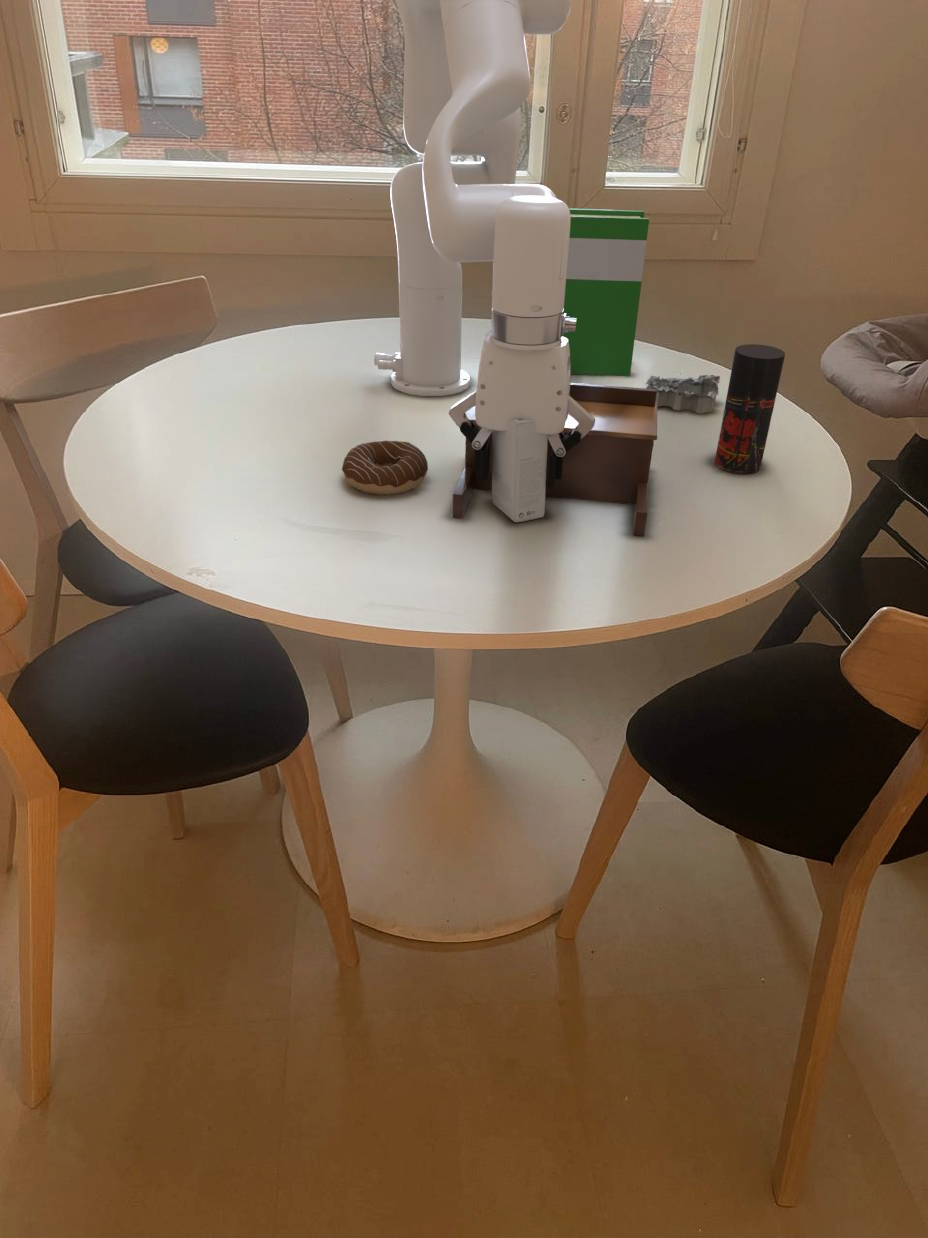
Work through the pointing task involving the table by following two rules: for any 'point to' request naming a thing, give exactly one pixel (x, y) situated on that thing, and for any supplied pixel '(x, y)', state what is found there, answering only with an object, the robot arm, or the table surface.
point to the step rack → (593, 452)
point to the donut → (385, 467)
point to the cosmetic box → (519, 470)
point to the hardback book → (604, 288)
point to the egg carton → (686, 392)
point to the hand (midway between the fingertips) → (517, 479)
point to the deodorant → (749, 408)
